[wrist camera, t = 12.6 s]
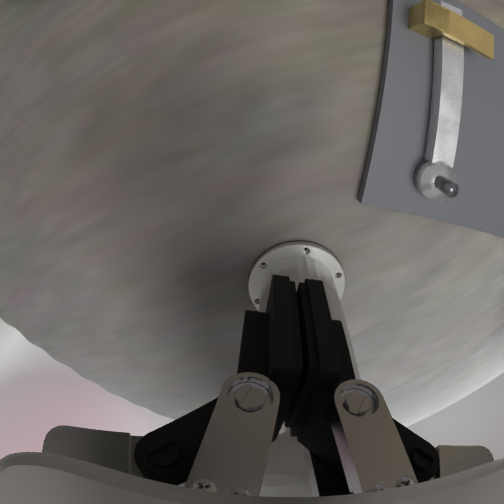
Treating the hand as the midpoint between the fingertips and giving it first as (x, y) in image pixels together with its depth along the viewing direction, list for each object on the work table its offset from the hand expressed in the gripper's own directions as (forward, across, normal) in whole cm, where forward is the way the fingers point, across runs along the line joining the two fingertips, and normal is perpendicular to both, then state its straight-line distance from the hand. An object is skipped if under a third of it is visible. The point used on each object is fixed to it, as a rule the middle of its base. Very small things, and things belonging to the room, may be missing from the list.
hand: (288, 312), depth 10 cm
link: (+23, -17, -12) cm, 31 cm away
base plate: (+25, -26, -12) cm, 38 cm away
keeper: (+24, -17, -20) cm, 35 cm away
